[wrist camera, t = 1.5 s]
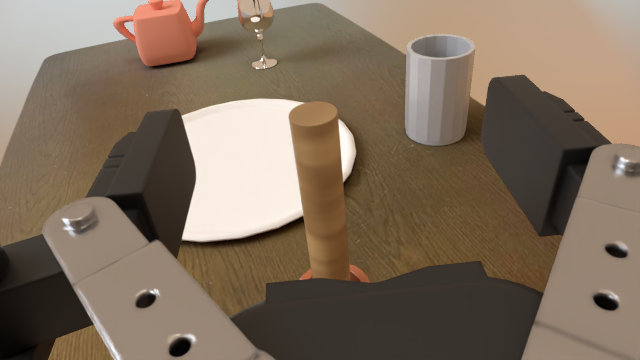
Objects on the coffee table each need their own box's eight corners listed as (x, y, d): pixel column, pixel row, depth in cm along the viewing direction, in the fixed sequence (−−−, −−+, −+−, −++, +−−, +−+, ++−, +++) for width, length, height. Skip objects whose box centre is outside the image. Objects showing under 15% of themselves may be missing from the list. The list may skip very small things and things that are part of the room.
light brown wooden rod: (363, 336, 35) (349, 99, 23) (355, 373, 33) (336, 130, 21) (325, 330, 36) (292, 97, 24) (315, 365, 34) (273, 127, 22)
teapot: (131, 52, 91) (111, -2, 85) (222, 37, 93) (210, -17, 87) (123, 75, 82) (101, 16, 76) (224, 58, 84) (211, -1, 78)
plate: (408, 158, 54) (408, 149, 53) (183, 298, 41) (179, 288, 40) (267, 86, 73) (266, 79, 72) (82, 165, 59) (78, 157, 59)
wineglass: (242, 69, 79) (227, -3, 72) (256, 56, 84) (244, -14, 76) (272, 71, 78) (260, -3, 70) (286, 57, 82) (276, -13, 75)
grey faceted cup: (465, 116, 60) (474, 33, 54) (465, 147, 55) (475, 59, 48) (408, 114, 62) (410, 33, 56) (402, 144, 57) (403, 58, 50)
